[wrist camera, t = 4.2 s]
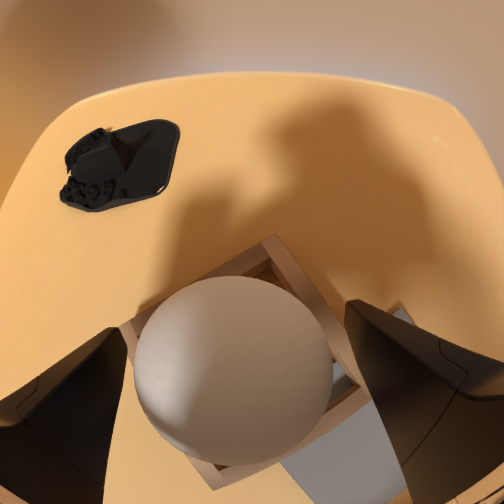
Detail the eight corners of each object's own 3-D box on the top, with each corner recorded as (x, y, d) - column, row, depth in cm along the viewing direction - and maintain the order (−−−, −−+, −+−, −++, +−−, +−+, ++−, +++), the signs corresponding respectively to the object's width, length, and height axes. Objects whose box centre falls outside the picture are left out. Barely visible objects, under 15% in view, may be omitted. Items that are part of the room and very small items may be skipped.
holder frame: (372, 386, 13) (385, 388, 11) (218, 478, 11) (213, 490, 10) (274, 246, 17) (275, 233, 15) (129, 332, 15) (115, 328, 13)
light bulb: (194, 317, 15) (101, 248, 6) (296, 313, 15) (346, 233, 6) (196, 416, 13) (102, 480, 4) (302, 413, 13) (364, 487, 4)
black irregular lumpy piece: (181, 116, 23) (169, 76, 19) (182, 196, 19) (162, 150, 15) (77, 149, 23) (56, 118, 18) (57, 228, 19) (23, 199, 14)
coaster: (465, 423, 11) (469, 424, 10) (340, 527, 9) (342, 530, 8) (398, 308, 15) (402, 306, 14) (247, 416, 13) (247, 418, 12)
